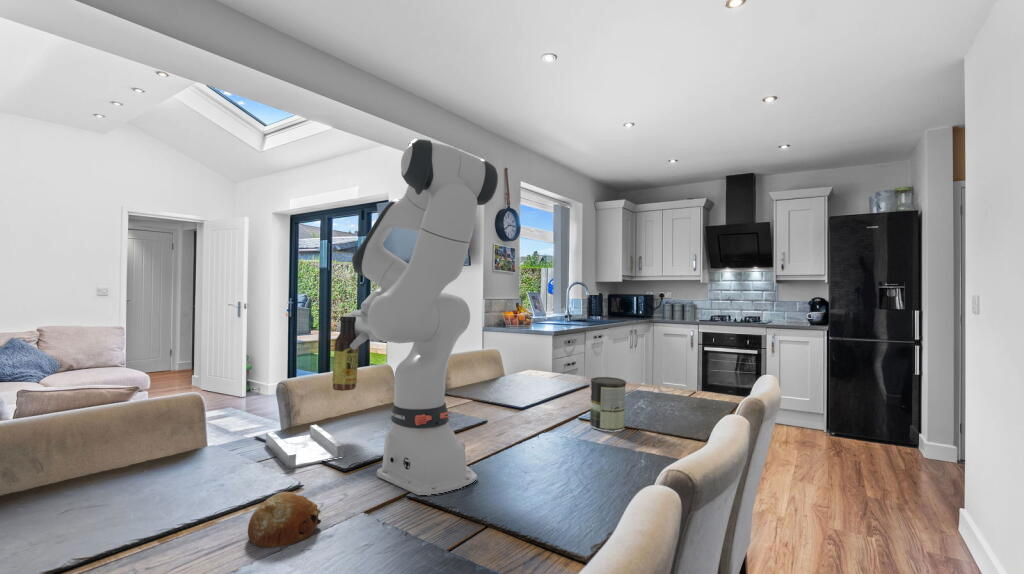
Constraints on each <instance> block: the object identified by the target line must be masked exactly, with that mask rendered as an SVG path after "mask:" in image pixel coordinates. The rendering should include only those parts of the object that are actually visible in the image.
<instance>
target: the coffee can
mask: <svg viewBox="0 0 1024 574" xmlns="http://www.w3.org/2000/svg"><path fill="white" fill-rule="evenodd" d="M626 385H627V381H626V380H624V379H622V378H617V377H611V376H610V377H609V376H606V377H605V376H598V377H597V376H596V377H592V378H590V413H589V414H590V416H589V417H590V420H589V427H590V426H591V427H593V428H596V429H601V430H609V431H615V430H621V429H623V428H624V429H625V414H626V413H625V411H626V410H625V407H626ZM591 427H590V428H591Z"/></svg>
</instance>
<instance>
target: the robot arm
mask: <svg viewBox="0 0 1024 574" xmlns="http://www.w3.org/2000/svg"><path fill="white" fill-rule="evenodd" d="M400 169H401V172H400V173H401V178H403V180H404V181H405V183H406V184H407V185H408V186H407V187H406V191H405V193H404V195H403V196H402V197H401V199H397V198H396V199H393V200H391V201H390V202H389V203H388V204H387V205H386V206H385V207H384V208H383V210H382V211H381V212H380V213H379V215H378V217H376V220H375V221H374V223H373V225H372V227H371V228H370V230H369V232H368V233H367V235H366V237H365V238H364V240H363V242H362V243H361V244H360V245H359V247H357V249H356V251H355V252H354V253H353V255H352V258H351V260H352V261H351V263H352V267H353V270H354V272H355V273H357V274H359V275H360V276H363V277H364V278H366V279H368V280H370V281H371V282H373V284H375V285H377V286H378V288H377V289H375V290H373V291H372V292H371V293H370V294H369V295H368V296H367V297H366V299H364V301H363V302H362V303H361V304H360V308H359V309H356V310H353V311H351V312H349V313H348V314H346V316H355V317H356V322H355V329H354V330H355V335H356V339H355V340H354V341H351V342H350V344H348V347H349V348H350V349H353V350H355V349H356V348H357V347H358V346H361V345H362V344H363V343H365V342H366V341H367V340H371V341H372V340H374V341H382V342H386V343H387V342H389V343H395V344H406V343H407V344H409V343H413V345H412V347H411V349H410V352H409V353H408V355H407V356H406V357H405V358H404V359H403V360H402V361H401V362H400V363H398V365H397V367H396V369H395V373H394V387H393V390H394V395H393V403H392V404H391V410H390V411H391V412H390V415H391V418H390V419H391V422H392V424H391V426H390V429H389V430H388V431H387V433H386V434H385V440H384V448H383V457H382V466H381V467H379V468H378V469H377V471H376V477H377V478H379V479H381V480H384V481H387V482H388V483H391V484H393V485H395V486H396V487H400V488H402V489H403V490H406V491H408V492H410V493H413V494H414V495H418V496H420V495H427V496H432V495H431V494H437V495H439V494H438V493H443V492H446V491H451V490H453V489H457V488H460V487H463V486H465V485H468V484H470V483H472V482H473V481H475V480H476V479H477V480H478V475H477V473H475V472H474V471H473V470H472V469H471V468H470V467H469V466H468V465H467V457H466V444H465V442H464V441H460V440H459V438H458V436H456V433H455V432H454V431H453V429H452V427H451V425H450V424H449V421H450V419H449V418H450V417H451V415H449V414H451V412H450V411H448V407H447V403H446V402H445V398H446V397H445V396H446V394H445V393H446V377H447V369H448V363H449V360H450V357H451V355H452V352H453V349H454V347H455V346H456V343H457V342H458V339H460V337H461V335H463V334H464V332H466V330H467V329H468V327H469V324H470V322H471V311H470V308H469V305H468V303H467V302H466V300H464V299H463V298H462V297H460V296H458V295H454V294H452V293H447V292H443V290H444V289H445V288H446V287H447V286H448V285H449V284H450V283H451V284H452V282H454V281H455V280H457V279H458V278H459V277H460V275H461V273H462V272H463V267H464V264H465V262H466V261H465V260H466V257H467V254H468V251H469V247H470V244H471V240H472V237H473V234H474V230H475V225H476V224H475V223H476V220H477V219H476V218H477V212H478V211H477V209H478V206H484V205H486V204H487V203H489V202H490V201H491V200H492V199H493V198H494V195H495V193H496V191H497V188H498V182H499V173H498V172H497V168H496V166H494V165H493V164H492V163H491V162H489V161H487V160H485V159H482V158H481V159H480V158H478V157H476V156H473V155H471V154H469V153H467V152H464V151H461V150H460V149H458V148H456V147H452V146H450V145H445V144H441V143H437V142H433V141H432V140H429V139H423V138H422V139H421V138H415V139H413V140H412V141H410V142H409V143H408V145H407V147H406V148H405V150H404V152H403V153H402V156H401V160H400ZM393 228H399V229H400V228H401V229H405V230H408V231H411V232H416V233H417V232H418V235H417V238H416V240H415V241H416V242H415V244H414V247H413V251H412V253H411V257H410V260H409V262H406V261H405V260H403V259H402V258H400V257H398V256H396V255H395V254H394V253H392V252H391V251H389V250H387V248H385V245H384V242H385V240H386V239H387V237H388V236H389V235H390V233H391V231H392V230H393ZM340 329H341V321H339V323H338V324H337V326H336V330H337V331H338V332H339V333H340ZM477 480H476V481H477ZM476 481H475V482H476ZM451 492H452V491H451ZM443 494H444V493H443Z"/></svg>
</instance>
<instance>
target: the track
mask: <svg viewBox="0 0 1024 574" xmlns="http://www.w3.org/2000/svg"><path fill="white" fill-rule="evenodd" d="M309 429H310V430H309V434H306V435H300V436H294V437H287V438H281V437H280V436H278V435H277V434H276V433H275V432H274V431H266V433H265V435H266V436H265V437H266V438H265V445H266V446H267V447H268V448H269V450H270V451H271V452H272V454H274V455H275V456H276V457H277V458H278V460H279V461H280V462H281V464H283V465H284V466H285V467H286V469H288V470H291V469H295V468H296V469H297V468H300V467H301V468H302V467H306V466H311V465H317V464H320V463H323V462H322V461H323V460H328V459H334V458H339V457H344V456H345V455H344V453H345V445H344V444H343V442H340V441H339V440H338V439H336V438H335V437H334V436H332V434H330V433H328V432H327V431H325V430H324V429H323V428H322V427H321V426H318V425H317V424H313V425H312V424H311V425H310V426H309Z"/></svg>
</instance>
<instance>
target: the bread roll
mask: <svg viewBox="0 0 1024 574" xmlns="http://www.w3.org/2000/svg"><path fill="white" fill-rule="evenodd" d="M321 513H322V511H321V509H319V508H318V504H316V503H314V502H313V501H311V500H310V499H308V497H305V496H304V495H300V494H299V495H298V494H296V493H295V492H292V491H281V492H278V493H275V494H274V495H272V496H270V497H268V498H267V499H265V500H264V501H263V502H262V503H261V504H260V505H259V506H258V507H257V508H256V509H255V511H254V512H253V513H252V515H251V517H250V519H249V523H248V525H247V526H248V527H247V536H248V540H249V541H250V542H251V544H253V545H254V546H257V547H260V548H269V549H270V548H277V547H283V546H288V545H289V546H290V545H294V544H297V543H299V542H302V541H305V540H306V539H308V538H309V537H310V536H312V535H313V534H314V532H315V530H316V529H317V527H318V525H320V524H321V523H322V519H319V515H320V514H321Z"/></svg>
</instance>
